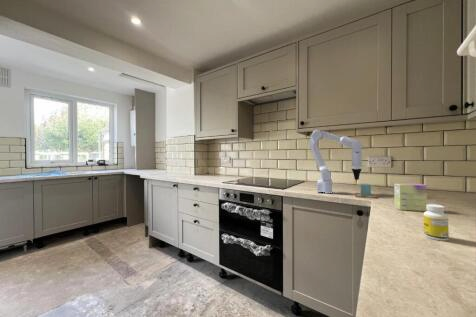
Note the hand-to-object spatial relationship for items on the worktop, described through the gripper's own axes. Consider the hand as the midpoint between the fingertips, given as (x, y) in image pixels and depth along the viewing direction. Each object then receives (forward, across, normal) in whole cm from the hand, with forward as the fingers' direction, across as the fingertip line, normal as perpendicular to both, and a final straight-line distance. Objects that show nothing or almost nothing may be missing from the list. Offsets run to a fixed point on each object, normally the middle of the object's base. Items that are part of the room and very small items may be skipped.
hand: (356, 179), depth 133 cm
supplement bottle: (+10, -70, -23) cm, 74 cm away
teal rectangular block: (+9, -5, -5) cm, 11 cm away
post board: (+10, -5, -5) cm, 12 cm away
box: (+10, -32, -22) cm, 40 cm away
